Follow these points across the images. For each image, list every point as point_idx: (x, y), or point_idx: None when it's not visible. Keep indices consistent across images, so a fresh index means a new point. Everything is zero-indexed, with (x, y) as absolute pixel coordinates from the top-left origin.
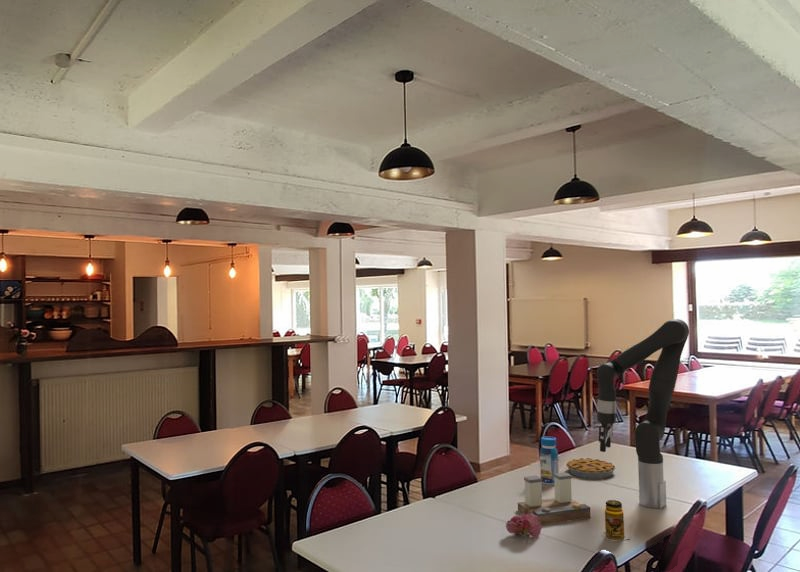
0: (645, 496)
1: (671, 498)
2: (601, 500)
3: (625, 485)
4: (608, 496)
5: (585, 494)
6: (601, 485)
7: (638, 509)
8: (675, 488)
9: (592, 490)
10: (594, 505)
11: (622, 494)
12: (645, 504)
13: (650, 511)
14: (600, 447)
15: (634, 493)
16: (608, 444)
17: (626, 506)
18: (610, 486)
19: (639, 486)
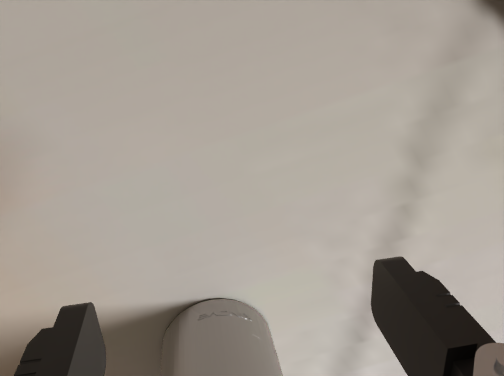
0: (161, 374)
1: (346, 372)
2: (120, 138)
3: (451, 159)
4: (214, 147)
5: (167, 15)
6: (396, 43)
7: (108, 324)
8: None
9: (272, 27)
10: (4, 135)
11: (291, 196)
12: (163, 344)
13: (118, 367)
14: (51, 347)
15: (338, 237)
16: (391, 322)
17: (113, 271)
18: (399, 96)
19: (186, 372)
